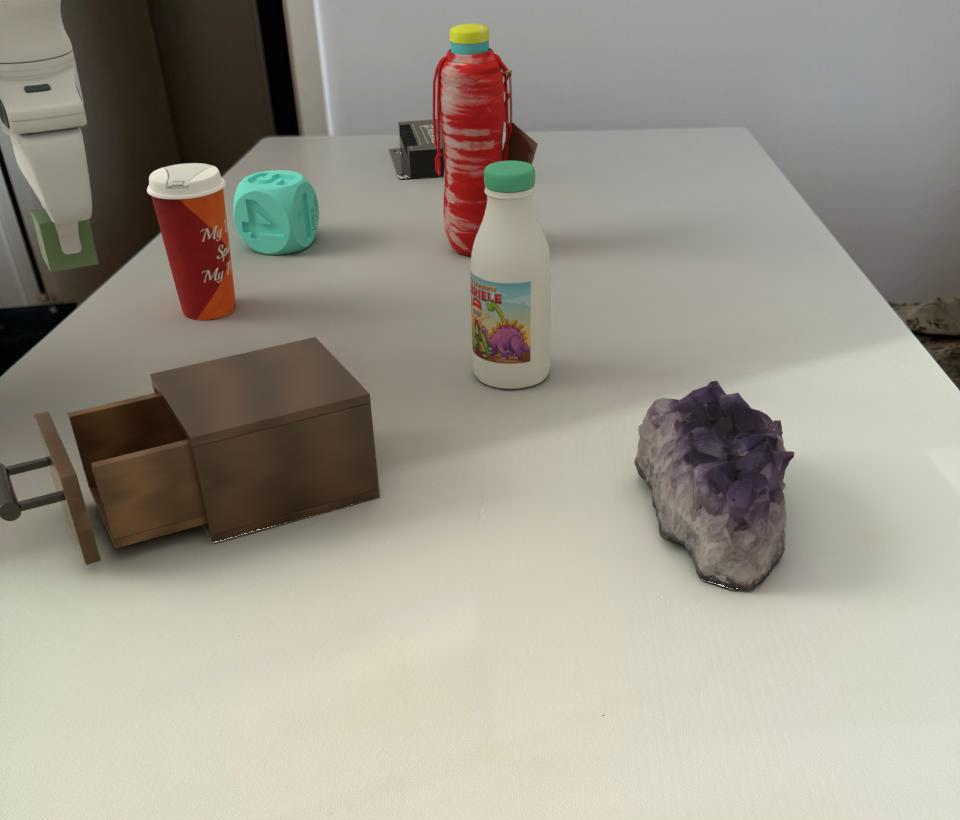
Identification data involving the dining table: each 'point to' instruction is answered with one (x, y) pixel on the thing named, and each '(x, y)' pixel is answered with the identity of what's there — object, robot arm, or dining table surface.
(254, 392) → the cabinet
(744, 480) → the geode
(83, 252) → the block
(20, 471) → the drawer
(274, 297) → the dining table surface
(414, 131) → the dark grey box
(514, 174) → the milk bottle
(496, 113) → the water bottle
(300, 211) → the decorative dice
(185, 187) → the coffee cup
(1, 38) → the robot arm
